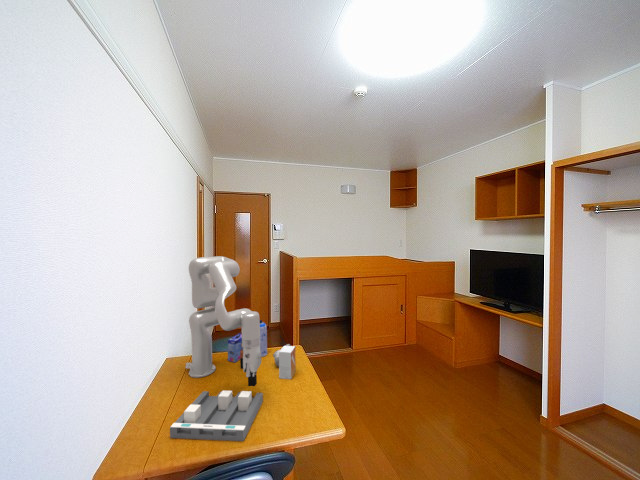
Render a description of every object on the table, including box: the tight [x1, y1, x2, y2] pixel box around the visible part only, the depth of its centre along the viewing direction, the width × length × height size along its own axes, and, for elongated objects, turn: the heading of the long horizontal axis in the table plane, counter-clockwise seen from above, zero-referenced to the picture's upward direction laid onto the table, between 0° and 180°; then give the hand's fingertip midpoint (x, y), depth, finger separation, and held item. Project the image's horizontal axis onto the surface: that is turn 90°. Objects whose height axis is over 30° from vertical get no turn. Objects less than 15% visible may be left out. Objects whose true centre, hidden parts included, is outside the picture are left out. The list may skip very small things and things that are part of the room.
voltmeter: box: [272, 335, 291, 367], centre depth 149 cm, size 27×11×10 cm, turn 23°
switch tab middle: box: [218, 389, 233, 410], centre depth 105 cm, size 4×4×5 cm
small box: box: [278, 345, 297, 380], centre depth 133 cm, size 8×6×13 cm
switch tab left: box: [183, 403, 201, 424], centre depth 97 cm, size 4×4×5 cm
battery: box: [239, 348, 244, 370], centre depth 142 cm, size 4×7×10 cm, turn 87°
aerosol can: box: [260, 319, 268, 358], centre depth 157 cm, size 8×8×20 cm
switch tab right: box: [238, 390, 253, 411], centre depth 105 cm, size 4×4×5 cm
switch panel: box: [169, 390, 264, 442], centre depth 101 cm, size 26×22×4 cm
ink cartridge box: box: [227, 332, 243, 363], centre depth 152 cm, size 10×6×14 cm, turn 160°
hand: (252, 385), depth 112 cm, fingers closed
